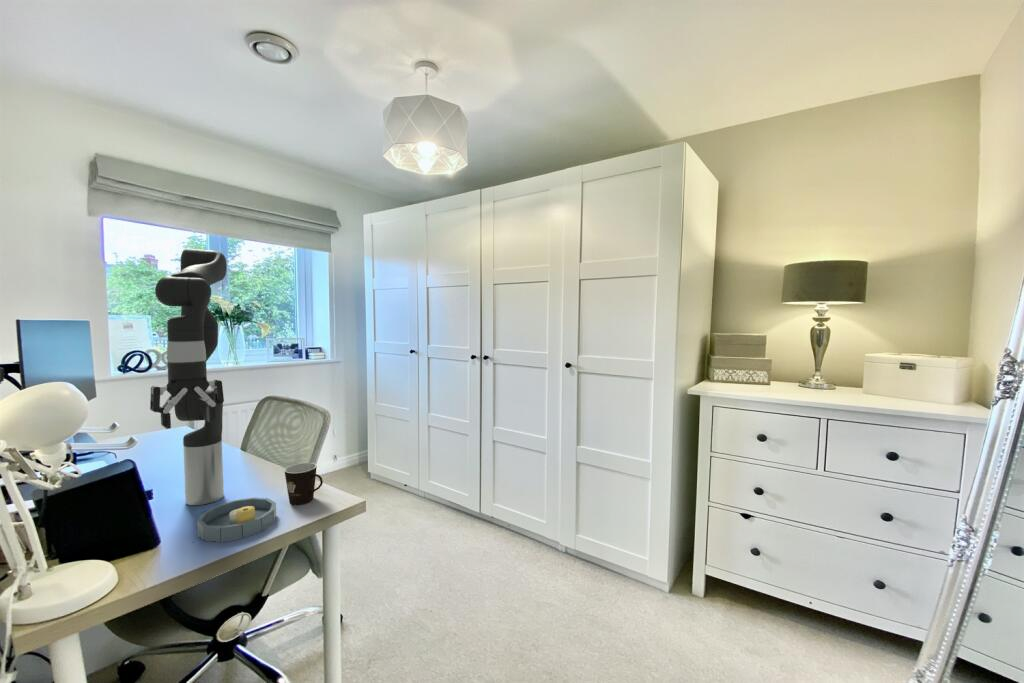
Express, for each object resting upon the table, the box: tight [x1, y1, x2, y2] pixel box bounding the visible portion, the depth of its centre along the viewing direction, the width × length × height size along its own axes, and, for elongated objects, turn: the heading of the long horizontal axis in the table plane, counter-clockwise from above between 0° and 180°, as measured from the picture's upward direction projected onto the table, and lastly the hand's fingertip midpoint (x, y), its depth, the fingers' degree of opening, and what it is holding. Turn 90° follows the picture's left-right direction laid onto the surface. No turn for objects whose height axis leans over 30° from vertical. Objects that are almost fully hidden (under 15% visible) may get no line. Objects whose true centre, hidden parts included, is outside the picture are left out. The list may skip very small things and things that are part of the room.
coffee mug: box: [283, 462, 324, 506], centre depth 124 cm, size 12×9×10 cm
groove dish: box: [196, 497, 277, 543], centre depth 110 cm, size 17×17×4 cm
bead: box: [236, 506, 255, 524], centre depth 107 cm, size 4×4×5 cm
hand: (189, 424), depth 103 cm, fingers open, 8 cm apart
